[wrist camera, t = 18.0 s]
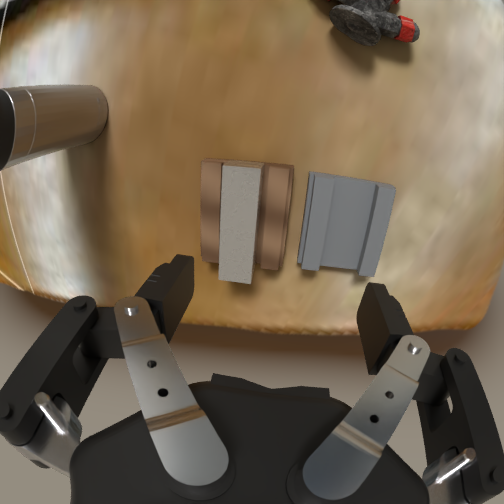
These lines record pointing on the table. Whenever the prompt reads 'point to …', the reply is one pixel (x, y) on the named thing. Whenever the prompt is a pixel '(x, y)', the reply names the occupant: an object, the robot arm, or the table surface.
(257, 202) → the block
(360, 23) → the valve
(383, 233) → the grey channel bracket
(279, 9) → the table surface
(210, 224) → the cradle
